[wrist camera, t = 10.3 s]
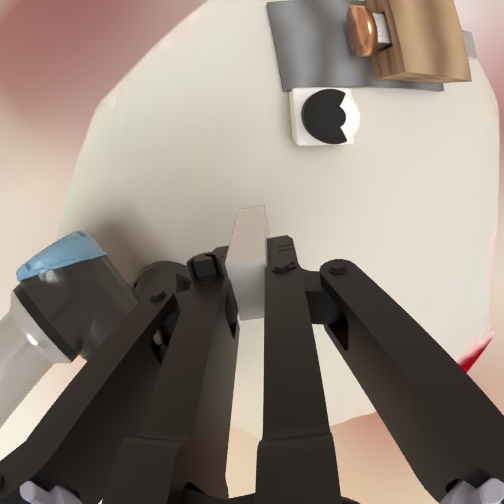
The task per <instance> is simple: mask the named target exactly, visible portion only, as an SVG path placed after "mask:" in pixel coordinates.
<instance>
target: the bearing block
mask: <svg viewBox="0 0 504 504" xmlns="http://www.w3.org/2000/svg"><path fill="white" fill-rule="evenodd" d="M351 5H356V6H366V7H368V8H369V9H370V10H371V12H372V13H376V14H385V15H386V18H387V22H388V26H389V31H390V35H391V39H392V44H393V46H392V47H390V48H388V49H386V50H384V49H376V52H375V54H374V55H373V56H371V57H366V56H357V55H355V54H354V52H353V50H352V48H351V46H350V43H349V39H348V35H347V27H346V16H347V11H348V8H349V7H350V6H351ZM267 9H268V14H269V19H270V23H271V28H272V33H273V38H274V43H275V48H276V53H277V59H278V64H279V70H280V75H281V81H282V87H283V92H284V91H292V90H293V88H313V87H333V88H339V87H388V88H408V89H421V90H431V91H444V87H443V83H449V82H468V81H472V80H471V73H470V67H469V61H468V56H467V51H466V46H465V42H464V37H463V33H462V29H461V25H460V22H459V18H458V15H457V11H456V8H455V5H454V2H453V0H364V1H357V0H289V1H277V2H267Z"/></svg>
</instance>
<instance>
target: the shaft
mask: <svg viewBox="0 0 504 504" xmlns="http://www.w3.org/2000/svg"><path fill="white" fill-rule="evenodd" d="M346 27H347V35H348V39H349V43H350V46H351V48H352V50H353V52H354V54H355V55H357V56H366V57H371V56H373V55H374V54H375V52H376V49H384V50H386V49H388V48H390V47H392V46H393V44H392V39H391V35H390V31H389V26H388V22H387V18H386V15H385V14H376V13H372V12H371V10H370V9H369V8H368V7H366V6H356V5H351V6H350V7H349V8H348V11H347V16H346ZM462 33H463V37H464V42H465V46H466V51H467V56H468V60H471V59H477V56H476V51H475V46H474V41H473V37H472V33H471V32H467V31H464V30H462Z"/></svg>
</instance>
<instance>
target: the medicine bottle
mask: <svg viewBox="0 0 504 504" xmlns="http://www.w3.org/2000/svg"><path fill="white" fill-rule="evenodd" d="M289 104H290V115H291V126H292V138H293V141H294V142H295V143H296V144H297V145H298V146H317V145H354V143H355V134H356V132H357V131H358V128H359V125H360V112H359V108H358V106H357V104H356V103H355V101H354V100H353V99H352V90H351V89H350V88H333V87H313V88H293V90H292V91H291V92H290V93H289Z"/></svg>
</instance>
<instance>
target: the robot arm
mask: <svg viewBox="0 0 504 504" xmlns="http://www.w3.org/2000/svg"><path fill="white" fill-rule="evenodd" d="M107 255H108V254H107V253H106V251H103V250H102V248H101V247H100V246H99V244H98V243H97V242H96V241H95V239H94V238H93V237H92V235H91V234H89V233H88V232H86V231H76V232H73V233H71V234H69V235H67V236H65V237H63V238H62V239H60V240H58V241H56V242H55V243H53V244H52V245H50V246H48V247H47V248H45V249H44V250H42V251H41V252H39V253H38V254H36V255H35V256H34V257H33V258H31V260H29V261H27V262H26V263H25V264H23V265H22V266H21V267H20V268H19V269H18V270H17V272H16V275H17V280H18V281H19V282H21V283H20V284H19V285H18V286H17V287H16V288H15V289H14V290H13V291H12V292H11V307H10V311H9V312H8V313H7V314H6V315H5V316H4V317H3V318H2V320H1V321H0V428H1V426H2V425H3V424H4V423H5V421H6V420H7V419H8V418H9V416H10V415H11V414H12V413H13V411H14V410H15V409H16V408H17V406H18V405H19V404H20V403H21V402H22V400H23V399H24V398H25V397H26V395H27V394H28V393H29V392H30V391H31V390H32V388H33V387H34V386H35V385H36V384H37V383H38V381H39V380H40V379H41V378H42V377H43V376H44V374H45V373H46V372H47V371H48V370H49V369H50V368H51V367H52V365H53V364H55V363H71V362H72V361H73V360H74V359H75V358H76V357H77V356H78V355H79V354H81V355H82V356H83V357H84V358H85V359H86V360H87V363H86V364H85V365H84V366H83V368H82V369H81V370H80V371H79V372H78V374H77V375H76V376H75V377H74V378H73V380H72V381H71V382H70V383H69V385H68V386H67V387H66V389H65V390H64V391H63V392H62V394H61V395H60V396H59V397H58V399H57V400H56V401H55V402H54V404H53V405H52V406H51V408H50V409H49V410H48V411H47V413H46V414H45V416H44V417H43V418H42V419H41V421H40V422H39V424H38V425H37V426H36V427H35V429H34V430H33V432H32V433H31V434H30V436H29V437H28V438H27V440H26V441H25V442H24V443H23V444H21V445H20V446H19V447H18V448H16V449H15V450H14V451H12V452H11V453H10V454H9V455H7V456H6V457H5V458H4V459H2V460H1V461H0V504H98V503H99V502H100V501H101V500H102V499H103V500H102V504H360V503H358V502H356V501H354V500H351V499H349V498H346V497H342V496H341V494H340V486H339V477H338V470H337V462H336V454H335V447H334V441H333V436H332V433H331V432H330V428H329V421H328V415H327V408H326V402H325V396H324V390H323V384H322V378H321V372H320V366H319V361H318V355H317V349H316V344H315V339H314V333H313V328H312V324H323V325H324V328H325V331H326V332H327V334H328V335H329V337H330V338H331V340H332V341H333V343H334V345H335V346H336V348H337V349H338V351H339V352H340V354H341V355H342V357H343V359H344V360H345V362H346V363H347V365H348V366H349V368H350V370H351V371H352V373H353V374H354V376H355V377H356V379H357V381H358V382H359V384H360V385H361V387H362V388H363V390H364V392H365V393H366V395H367V396H368V398H369V400H370V401H371V403H372V404H373V406H374V408H375V409H376V411H377V412H378V414H379V416H380V417H381V419H382V420H383V422H384V423H385V425H386V427H387V429H388V430H389V432H390V433H391V435H392V437H393V438H394V440H395V442H396V443H397V445H398V446H399V448H400V450H401V451H402V453H403V455H404V456H405V458H406V460H407V461H408V463H409V465H410V466H411V468H412V470H413V471H414V473H415V475H416V476H417V478H418V479H419V481H420V482H421V484H422V485H423V486H424V488H425V489H426V490H427V491H428V492H429V493H430V495H431V496H432V497H433V498H434V499H435V500H436V501H437V502H439V504H504V416H503V414H502V413H501V412H500V411H499V410H498V408H497V407H496V406H495V405H494V404H493V403H492V401H491V400H490V399H489V398H488V397H487V396H486V395H485V393H484V392H483V391H482V390H481V389H480V388H479V387H478V386H477V384H476V383H475V382H473V380H472V379H471V378H470V377H469V376H468V375H467V373H466V372H465V371H464V370H463V369H462V368H461V367H460V366H459V365H458V364H457V363H456V362H455V361H454V360H453V358H452V357H451V356H450V355H449V354H448V353H447V352H446V351H445V350H444V349H443V348H442V347H441V346H440V345H439V344H438V343H437V342H436V341H435V340H434V339H433V338H432V337H431V336H430V335H429V334H428V333H427V332H426V331H425V330H424V329H423V328H422V327H421V326H420V325H419V324H418V323H417V322H416V321H415V320H414V319H413V318H412V317H411V316H410V315H409V314H408V313H407V312H406V311H405V310H404V309H403V308H402V307H401V306H400V305H398V304H397V303H396V302H395V301H394V300H393V299H392V298H391V297H390V296H389V295H388V294H387V293H386V292H385V291H384V290H383V289H381V288H380V287H379V286H378V285H377V284H376V283H375V282H374V281H373V280H372V279H371V278H369V277H368V276H367V275H366V274H365V273H364V272H363V271H362V270H361V269H360V268H358V267H357V266H356V265H355V264H354V263H352V262H350V261H348V260H343V259H335V260H331V261H328V262H326V263H324V264H323V265H322V266H321V267H320V272H318V271H308V270H305V269H302V268H301V267H300V265H299V264H298V261H297V256H296V252H295V247H294V243H293V239H292V238H291V237H289V236H288V235H286V236H280V237H273V238H270V232H269V227H268V222H267V216H266V211H265V206H264V205H259V206H254V207H248V208H242V209H238V213H237V217H236V221H235V225H234V229H233V233H232V237H231V241H230V245H229V246H224V247H218V248H216V249H215V250H213V251H212V252H208V253H202V254H199V255H197V256H194V257H192V258H191V259H190V260H188V262H187V263H186V264H187V267H186V266H184V265H181V264H178V263H174V262H157V263H153V264H151V265H149V266H147V267H146V268H144V269H143V270H142V271H141V272H140V274H139V275H138V277H137V278H136V279H135V281H134V284H133V286H132V288H131V287H130V286H129V284H128V283H127V282H126V281H125V279H124V278H123V277H122V275H121V274H120V273H119V271H118V270H117V269H116V267H115V266H114V265H113V263H112V262H111V260H110V259H109V258H108V256H107ZM238 313H239V317H240V320H249V319H257V318H264V402H263V437H262V440H261V441H260V442H259V444H258V449H257V466H256V492H255V493H253V494H249V495H244V496H240V497H234V498H228V497H229V495H228V487H227V484H226V478H225V472H226V462H227V451H228V441H229V430H230V420H231V410H232V400H233V390H234V380H235V370H236V360H237V350H238V340H239V330H240V328H239V323H238V320H237V314H238Z"/></svg>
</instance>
